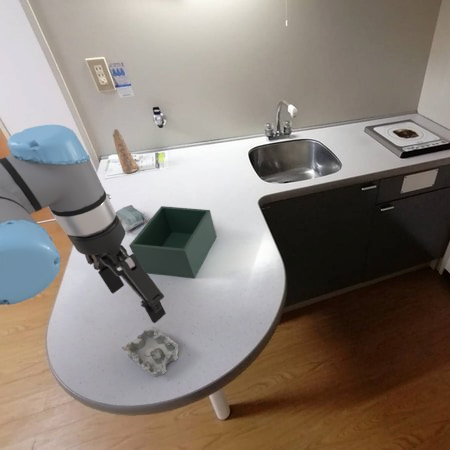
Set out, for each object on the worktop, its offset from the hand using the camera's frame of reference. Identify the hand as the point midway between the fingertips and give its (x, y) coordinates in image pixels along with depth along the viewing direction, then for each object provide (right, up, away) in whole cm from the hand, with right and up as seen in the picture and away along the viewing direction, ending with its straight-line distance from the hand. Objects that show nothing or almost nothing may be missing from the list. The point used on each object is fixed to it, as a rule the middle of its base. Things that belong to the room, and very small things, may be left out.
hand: (137, 302), depth 63 cm
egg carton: (+1, -13, +5) cm, 14 cm away
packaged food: (-25, +16, +41) cm, 50 cm away
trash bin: (-2, +7, +30) cm, 31 cm away
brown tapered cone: (-40, +40, +69) cm, 89 cm away
